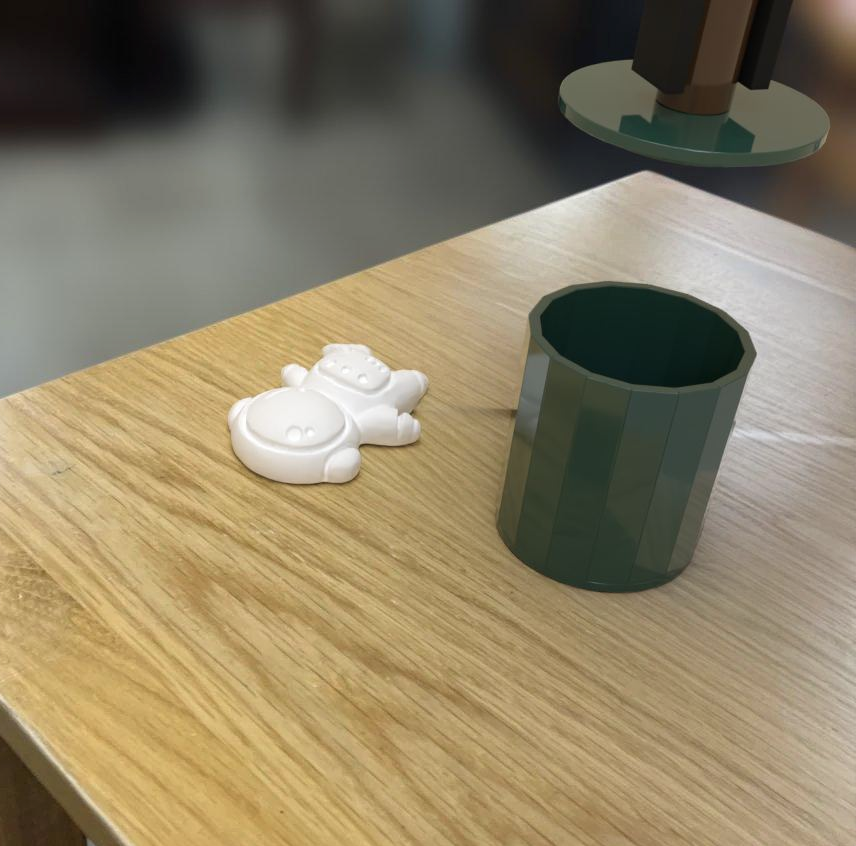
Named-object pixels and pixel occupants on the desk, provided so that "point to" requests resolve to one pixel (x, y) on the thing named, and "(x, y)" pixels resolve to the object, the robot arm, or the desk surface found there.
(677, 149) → the lid
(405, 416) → the white cartoon animal figure
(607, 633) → the desk surface
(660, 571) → the canister
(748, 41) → the robot arm
